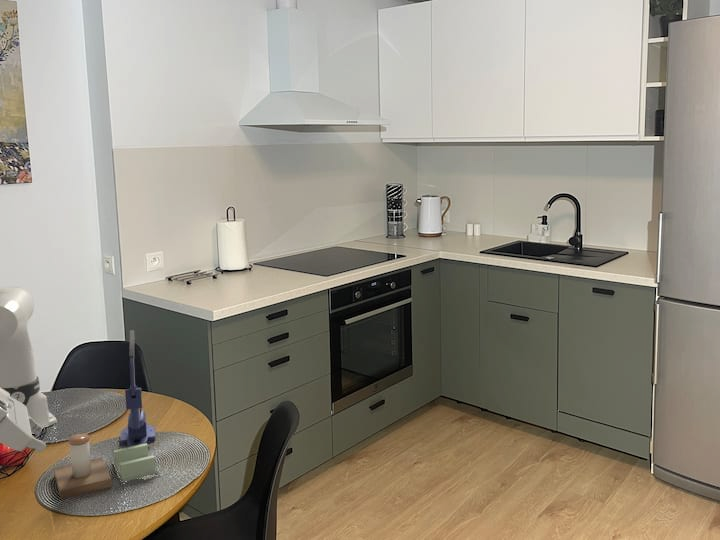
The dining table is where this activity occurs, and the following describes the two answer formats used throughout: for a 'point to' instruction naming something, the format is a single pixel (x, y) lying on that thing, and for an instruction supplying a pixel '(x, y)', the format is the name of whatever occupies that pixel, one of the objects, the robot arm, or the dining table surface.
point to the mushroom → (80, 455)
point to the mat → (138, 480)
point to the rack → (134, 462)
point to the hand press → (135, 410)
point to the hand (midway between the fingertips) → (42, 439)
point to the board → (82, 480)
